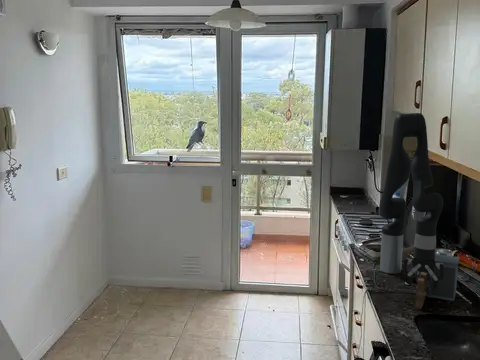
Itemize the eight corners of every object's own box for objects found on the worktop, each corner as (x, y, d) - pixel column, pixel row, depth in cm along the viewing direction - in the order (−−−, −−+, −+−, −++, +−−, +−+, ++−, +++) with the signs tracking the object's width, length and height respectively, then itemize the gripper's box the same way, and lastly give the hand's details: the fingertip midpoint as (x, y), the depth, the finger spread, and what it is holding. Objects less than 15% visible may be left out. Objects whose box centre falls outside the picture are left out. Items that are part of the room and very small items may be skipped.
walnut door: (420, 296, 190) (422, 269, 188) (429, 298, 189) (431, 271, 187) (415, 308, 180) (417, 279, 178) (425, 310, 178) (427, 281, 176)
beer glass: (451, 285, 202) (454, 250, 199) (448, 290, 196) (450, 254, 194) (434, 281, 206) (436, 247, 203) (430, 286, 200) (432, 251, 197)
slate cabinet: (419, 287, 199) (421, 252, 197) (456, 293, 193) (459, 257, 190) (415, 297, 189) (417, 260, 186) (454, 304, 183) (457, 266, 180)
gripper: (446, 245, 181) (443, 287, 184) (406, 240, 187) (404, 280, 190) (444, 251, 174) (441, 294, 177) (403, 245, 181) (400, 287, 183)
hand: (422, 287), depth 184 cm, fingers open, 8 cm apart
